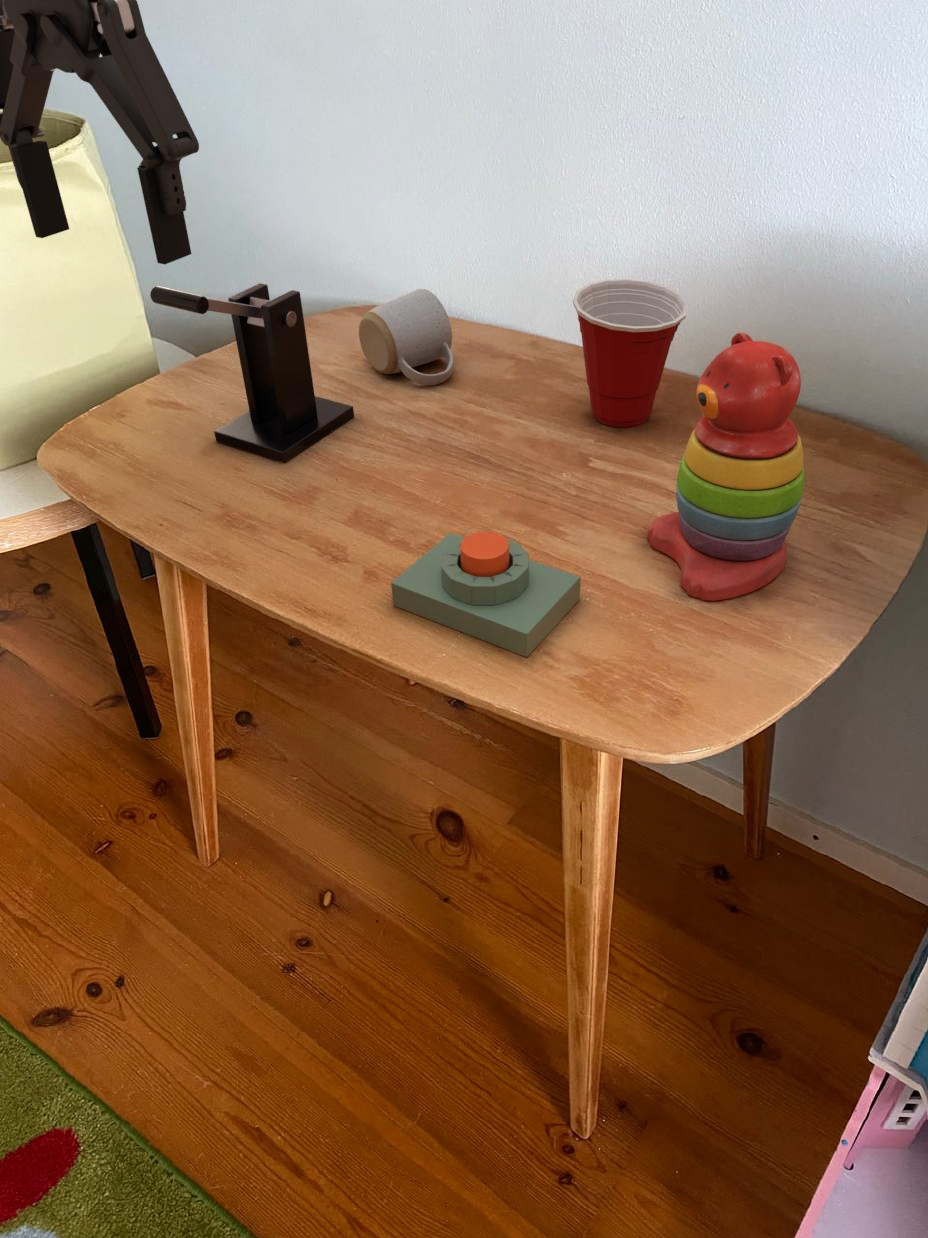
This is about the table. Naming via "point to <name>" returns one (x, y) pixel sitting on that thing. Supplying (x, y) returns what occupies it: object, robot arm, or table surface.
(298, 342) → the bracket
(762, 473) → the stacking bear
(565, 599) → the control block
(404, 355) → the ceramic mug
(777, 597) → the table surface
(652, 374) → the plastic cup
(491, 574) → the button
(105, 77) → the robot arm
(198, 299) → the lever
